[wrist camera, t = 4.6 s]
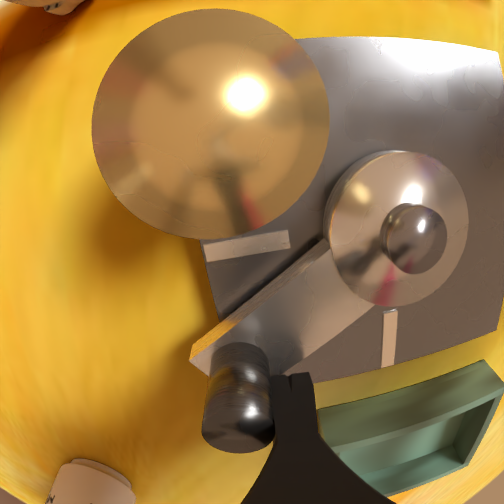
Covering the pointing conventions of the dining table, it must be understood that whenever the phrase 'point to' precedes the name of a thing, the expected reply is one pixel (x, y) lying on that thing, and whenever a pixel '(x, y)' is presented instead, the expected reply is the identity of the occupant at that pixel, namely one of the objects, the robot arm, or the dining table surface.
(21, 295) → the dining table surface
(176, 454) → the dining table surface
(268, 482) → the robot arm
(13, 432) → the dining table surface
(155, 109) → the pin
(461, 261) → the crank base
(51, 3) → the handle
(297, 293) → the crank
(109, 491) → the energy drink can
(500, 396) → the tray
